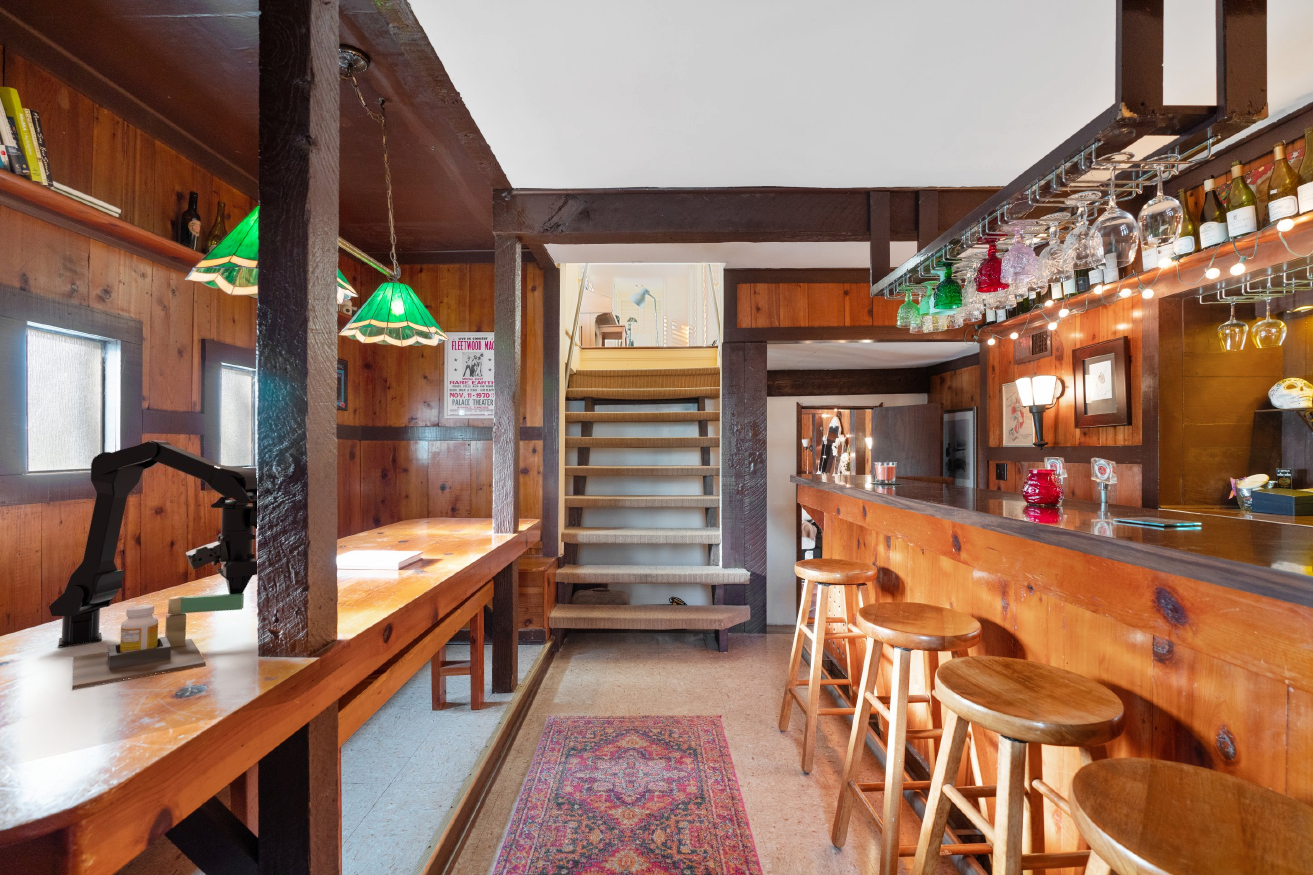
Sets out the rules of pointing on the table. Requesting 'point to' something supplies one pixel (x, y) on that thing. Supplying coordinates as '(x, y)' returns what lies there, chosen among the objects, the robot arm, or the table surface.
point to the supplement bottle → (139, 629)
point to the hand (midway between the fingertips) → (234, 603)
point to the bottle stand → (139, 658)
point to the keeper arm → (205, 603)
